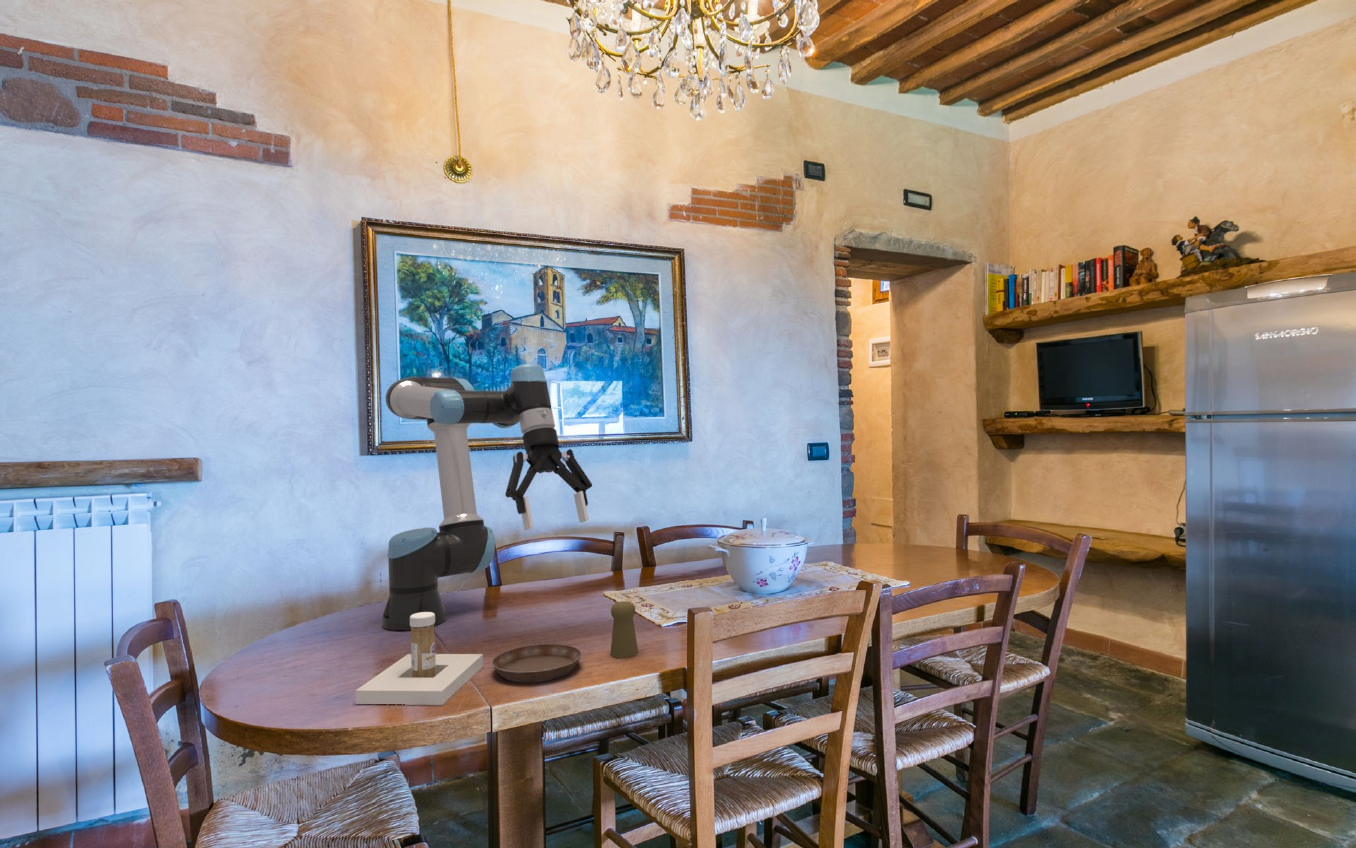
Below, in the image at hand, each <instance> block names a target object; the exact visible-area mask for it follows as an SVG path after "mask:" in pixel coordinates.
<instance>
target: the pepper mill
mask: <svg viewBox="0 0 1356 848" xmlns="http://www.w3.org/2000/svg"><path fill="white" fill-rule="evenodd" d="M610 614H611V616H612V618H613V623H612V632H611V633H612V634H611V643H610V644H611V645H610V654H609V655H610V657H611V658H614V659H620V660H623V659H631V657H632V658H635V657H637V656H638V655H639V649H638V641H637V635H636V630H635V623H634V617H635V614H636V607H635V604H634V603H633V602H630V601H624V600H623V601H618V602H615V603H613V604H612V606H611V608H610ZM637 654H638V655H637Z"/></svg>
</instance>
